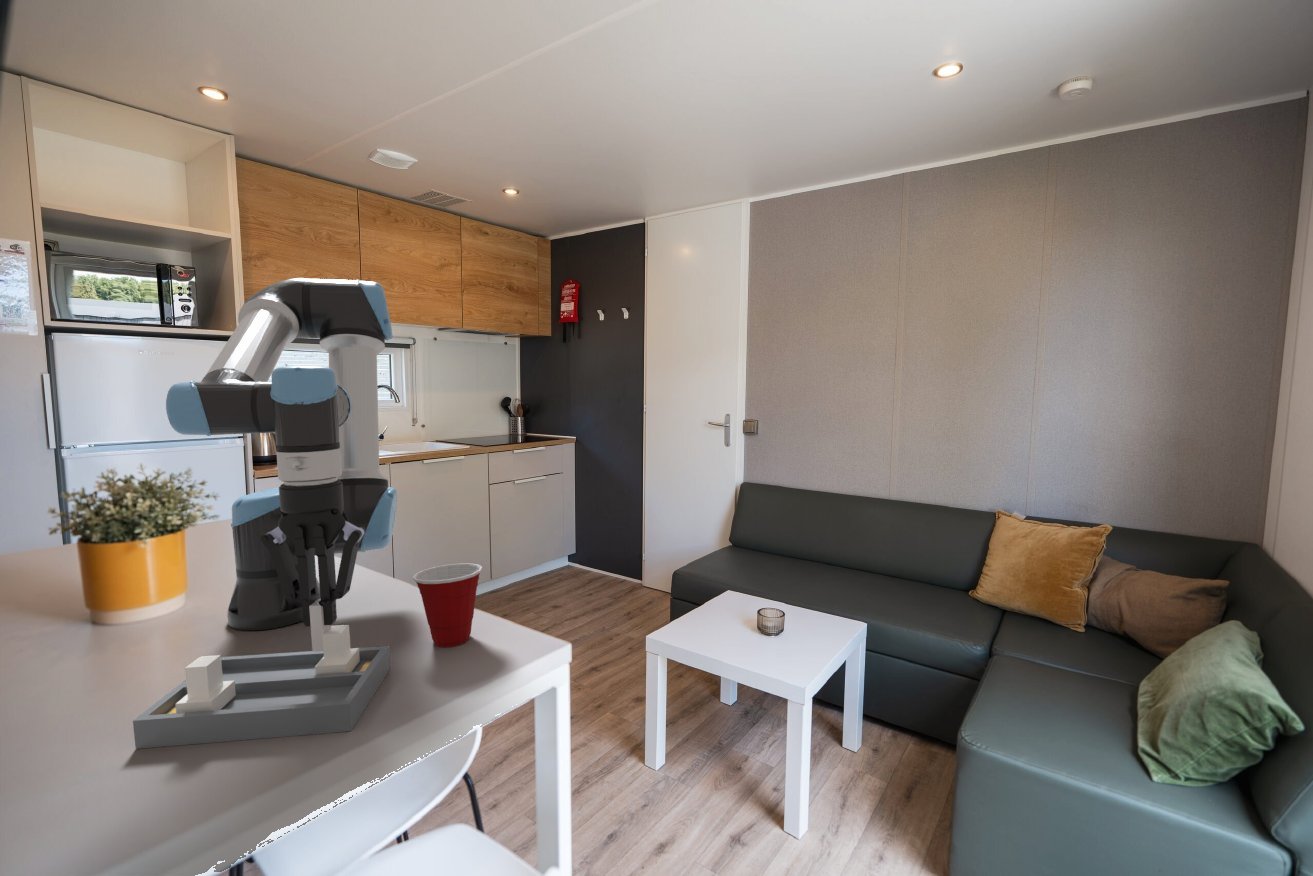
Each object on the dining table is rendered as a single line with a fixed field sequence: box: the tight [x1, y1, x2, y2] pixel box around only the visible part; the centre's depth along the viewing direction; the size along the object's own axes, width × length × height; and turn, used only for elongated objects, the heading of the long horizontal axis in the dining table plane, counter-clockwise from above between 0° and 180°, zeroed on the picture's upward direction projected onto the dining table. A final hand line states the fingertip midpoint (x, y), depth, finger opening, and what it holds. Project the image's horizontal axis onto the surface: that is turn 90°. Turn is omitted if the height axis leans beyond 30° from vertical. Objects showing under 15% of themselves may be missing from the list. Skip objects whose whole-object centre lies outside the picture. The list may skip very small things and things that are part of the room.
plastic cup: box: [412, 562, 483, 648], centre depth 99 cm, size 11×11×12 cm
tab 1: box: [176, 654, 236, 713], centre depth 75 cm, size 5×4×6 cm
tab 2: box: [315, 624, 360, 674], centre depth 84 cm, size 5×4×6 cm
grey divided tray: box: [132, 645, 391, 750], centre depth 80 cm, size 16×24×4 cm, turn 98°
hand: (322, 646), depth 83 cm, fingers closed
